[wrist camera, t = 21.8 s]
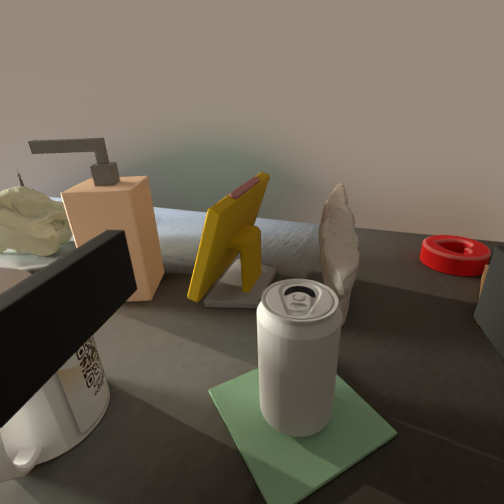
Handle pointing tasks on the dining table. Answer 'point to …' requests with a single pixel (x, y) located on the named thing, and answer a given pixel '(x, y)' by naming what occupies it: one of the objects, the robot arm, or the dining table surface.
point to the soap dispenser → (112, 210)
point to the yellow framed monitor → (233, 251)
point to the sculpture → (339, 247)
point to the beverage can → (298, 355)
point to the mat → (298, 439)
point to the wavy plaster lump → (32, 222)
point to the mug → (56, 414)
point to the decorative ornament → (455, 255)
